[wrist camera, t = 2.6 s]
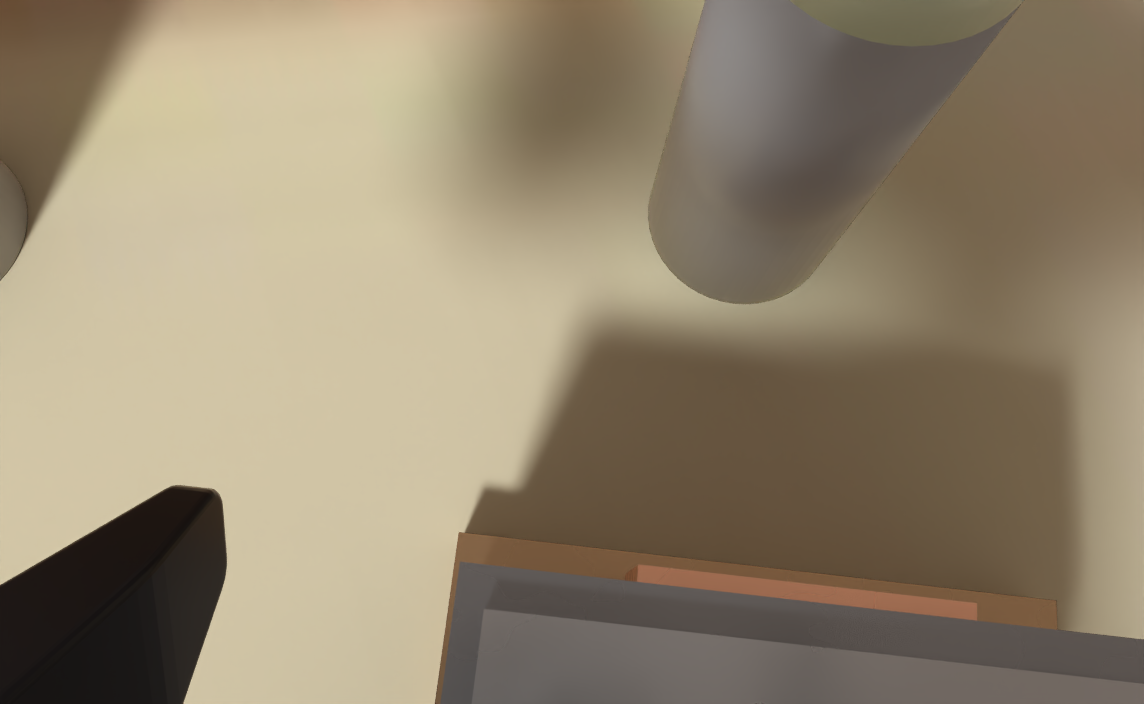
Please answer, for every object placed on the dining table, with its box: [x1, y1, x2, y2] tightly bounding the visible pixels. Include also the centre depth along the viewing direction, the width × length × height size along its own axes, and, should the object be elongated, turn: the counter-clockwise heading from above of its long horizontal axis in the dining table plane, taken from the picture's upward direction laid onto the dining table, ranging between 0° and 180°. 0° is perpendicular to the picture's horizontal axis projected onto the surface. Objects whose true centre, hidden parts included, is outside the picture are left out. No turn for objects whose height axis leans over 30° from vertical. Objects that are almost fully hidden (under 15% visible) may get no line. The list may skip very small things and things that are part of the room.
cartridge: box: [648, 0, 1024, 304], centre depth 19 cm, size 5×5×13 cm
